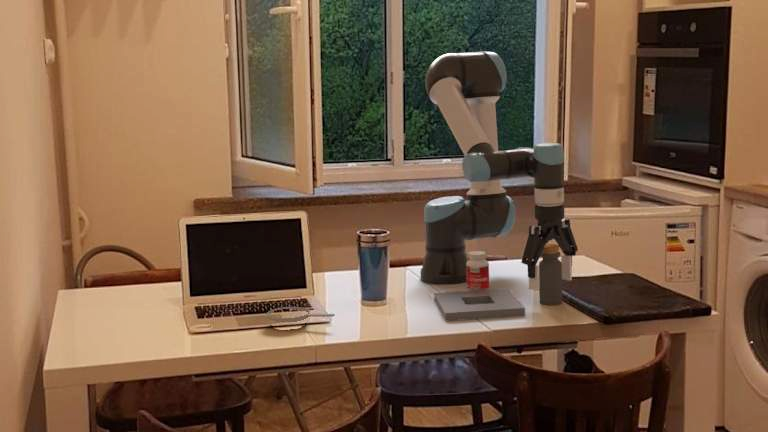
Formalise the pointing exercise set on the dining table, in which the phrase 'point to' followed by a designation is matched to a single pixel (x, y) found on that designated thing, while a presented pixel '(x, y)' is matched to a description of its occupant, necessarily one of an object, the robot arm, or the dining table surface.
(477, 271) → the pill bottle
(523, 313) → the hole plate
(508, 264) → the dining table surface
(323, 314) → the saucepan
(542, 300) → the bottle
